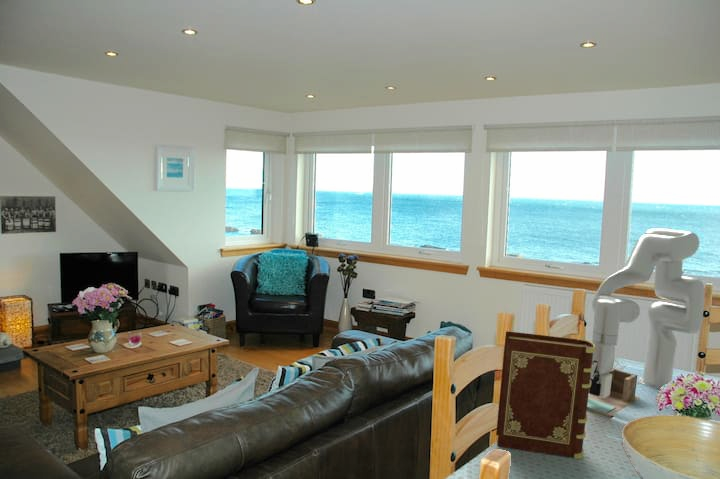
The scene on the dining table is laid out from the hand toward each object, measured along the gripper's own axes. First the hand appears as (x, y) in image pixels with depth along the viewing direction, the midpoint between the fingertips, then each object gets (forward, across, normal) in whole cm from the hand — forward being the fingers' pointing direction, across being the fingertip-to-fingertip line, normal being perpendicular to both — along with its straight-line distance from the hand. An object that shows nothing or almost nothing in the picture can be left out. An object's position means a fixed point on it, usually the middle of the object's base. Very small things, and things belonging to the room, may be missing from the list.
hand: (598, 392), depth 178 cm
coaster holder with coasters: (+6, -9, 0) cm, 10 cm away
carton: (+1, 0, 0) cm, 1 cm away
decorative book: (+6, +41, +2) cm, 41 cm away
